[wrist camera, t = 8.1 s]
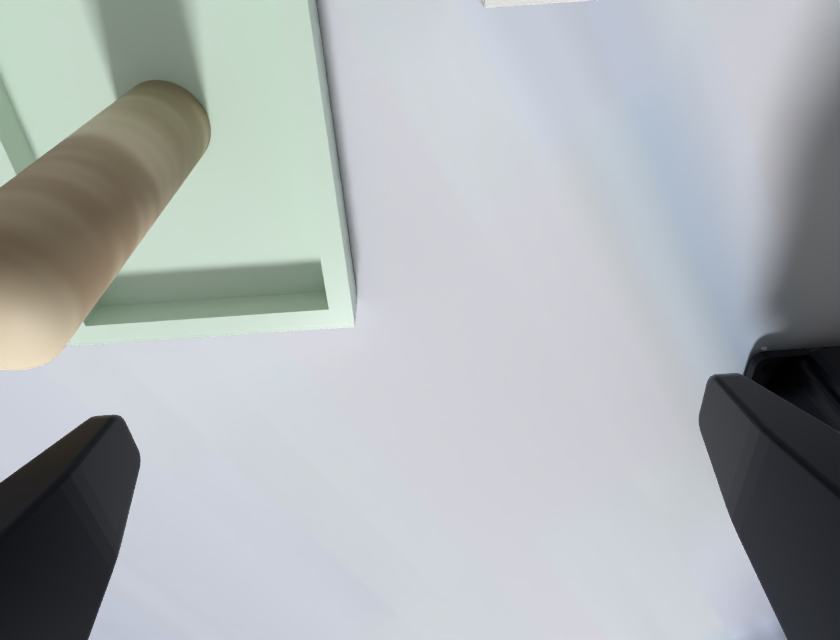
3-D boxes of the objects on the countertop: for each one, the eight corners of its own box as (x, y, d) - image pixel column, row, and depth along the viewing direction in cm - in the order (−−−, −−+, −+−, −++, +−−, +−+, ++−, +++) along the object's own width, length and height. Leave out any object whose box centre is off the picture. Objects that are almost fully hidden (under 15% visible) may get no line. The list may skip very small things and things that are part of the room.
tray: (357, 298, 23) (355, 326, 21) (91, 317, 23) (71, 346, 21) (291, -182, 15) (279, -190, 13) (-118, -153, 15) (-174, -159, 13)
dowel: (219, 163, 19) (92, 365, 11) (137, 169, 19) (-52, 375, 11) (198, 76, 18) (30, 234, 9) (108, 83, 18) (-137, 246, 9)
